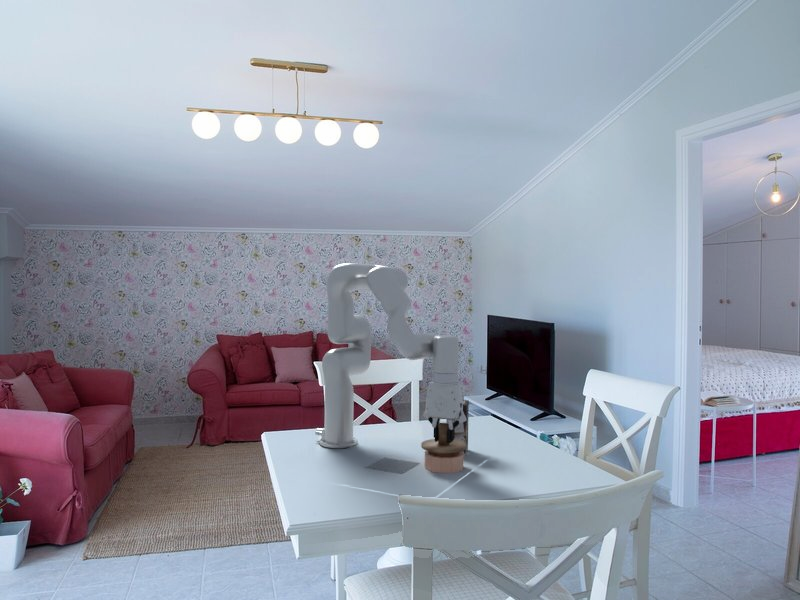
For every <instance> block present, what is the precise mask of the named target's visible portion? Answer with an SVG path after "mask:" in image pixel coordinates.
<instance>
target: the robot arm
mask: <svg viewBox="0 0 800 600" xmlns="http://www.w3.org/2000/svg"><path fill="white" fill-rule="evenodd" d="M405 272H406V271H404V270H403V269H402V268H400V267H397V266H395V267H394V266H387V265H386V266H385V265H377V264H369V263H368V264H367V263H355V262H354V263H353V262H350V263H349V262H348V263H347V262H346V263H341V264H338V265H335V266H334V267H333V268H332V269H331V270H330V272H329V273H328V275H327V278H326V293H327V338H328V340H329V341H330V343H332V344H336V345H344V344H345V345H346V344H348V345H347V346H348V347H340V348H339V347H338V348H333V349H330V350H328V351H326V353H325V354H324V356H323V357H322V361H321V369H322V374H323V379H324V424H323V425H324V428H319V427H317V428H316V430H315V436H321V438H320V439H319V445H320V446H322V447H324V448H330V449H347V448H351V447H354V446H356V445H358V444H359V439H357V438H356V437H354V403H355V402H354V401H355V400H354V399H355V395H354V394H355V390H354V386H353V383H352V380H351V379H350V377H351V376H358V375H362V374H364V373H366V372H367V371H368V369H370V368H369V367H370V365H371V358H372V357H371V355H372V353H371V351H372V328H371V327H372V326H371V324H370V322H369V320H368V319H367V318H366V317H365V316H364V315H361V314H355V313H354V312H355V310H354V309H355V308H354V307H355V304H354V303H355V302H354V298H353V296H352V293H351V292H350V291H351V290H352V291H353V290H359V291H364V290H365V291H367V290H369V291H371V293H372V295H373V296H374V297H375V299H376V300H377V302H378V303H379V304H380V306H381V308H382V309H383V311H384V312H385V314H386V316H387V330H388V335H389V338H390V340H391V341H392V343H393V344H394V346H395V348H396V349H397V351H398V352H399V353H400V354H401V356H402V357H404V358H405V359H407V360H410V361H417V360H425V359H432V364H431V367H432V369H431V372H428V374H427V377H428V378H430V379H431V381H430V382H429V383H428V386H427V392H426V399H425V410H424V411H423V413H422V416H423V418H425V419H426V420H428V422H429V423H430V424H431V425H432V426H431V427H432V428H433V439H435V442H437V441H438V430H439V423H441V419H443V420H447V419H448V422H449V429H448V430H447V443H451V442H453V440H454V438H455V428H456V427H457V426H458V425H459V424H460V423H462V422H464V421H466V420H467V419H466V417H465V415H464V412H463V402H462V400H463V392H462V387H461V386H462V385H461V383H459V355H460V354H459V353H460V349H459V348H460V340H459V338H458V337H457V336H455V335H448V334H447V335H446V334H444V335H443V334H437V333H433V332H423V333H422V332H421V333H414V332H413V330H412V329H411V328H410V326H409V324H408V322H407V319H406V314H407V313H408V312H409V311H410V309H411V307H412V300H411V299H410V297H409V296H408V295H407V293H406V291H405V290H406V289H407V287H408V284H409V281H408V277H407V274H406V273H405ZM458 417H460V419H458V420H456V419H457V418H458Z"/></svg>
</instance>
